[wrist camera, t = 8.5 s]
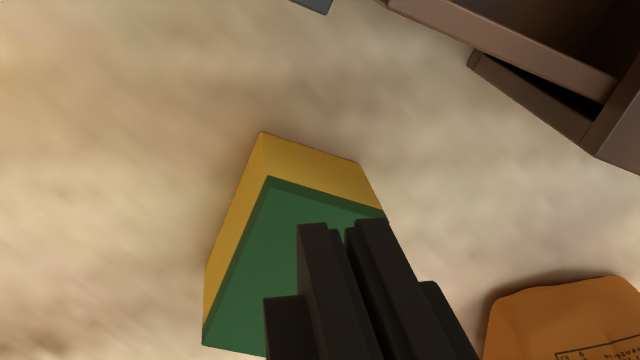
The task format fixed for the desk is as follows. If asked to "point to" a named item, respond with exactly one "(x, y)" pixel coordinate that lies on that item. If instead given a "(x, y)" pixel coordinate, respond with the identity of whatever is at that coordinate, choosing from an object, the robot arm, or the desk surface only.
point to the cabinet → (575, 109)
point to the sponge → (274, 234)
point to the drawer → (537, 35)
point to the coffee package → (567, 322)
